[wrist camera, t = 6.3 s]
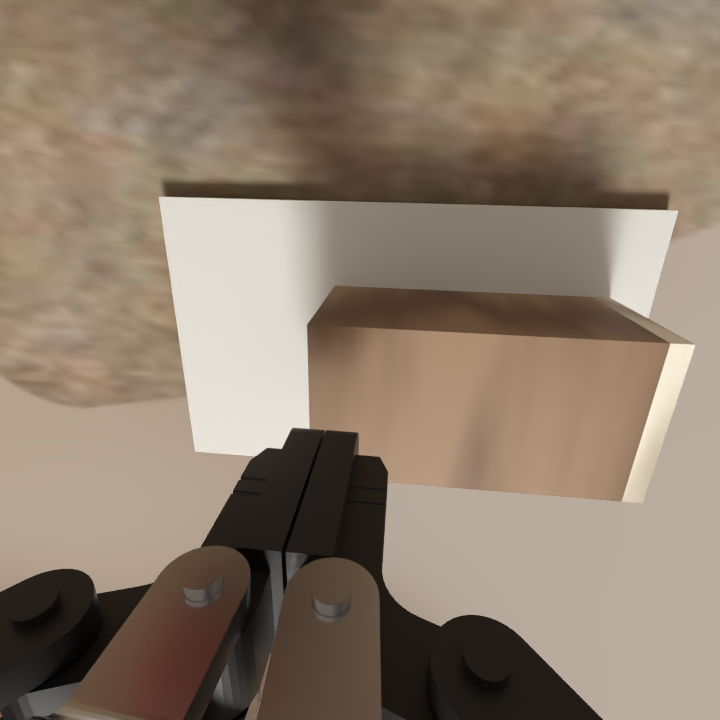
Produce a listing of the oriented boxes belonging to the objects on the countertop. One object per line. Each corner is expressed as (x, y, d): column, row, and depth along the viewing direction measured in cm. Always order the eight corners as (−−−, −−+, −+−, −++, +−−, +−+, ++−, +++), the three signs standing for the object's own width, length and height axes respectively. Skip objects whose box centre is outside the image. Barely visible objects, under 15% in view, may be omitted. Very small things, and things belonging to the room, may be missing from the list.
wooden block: (335, 285, 16) (609, 297, 16) (335, 402, 18) (580, 419, 17) (306, 324, 12) (695, 345, 11) (310, 476, 14) (642, 503, 13)
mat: (667, 209, 15) (678, 210, 14) (595, 474, 19) (601, 483, 18) (167, 196, 16) (158, 196, 16) (200, 444, 21) (195, 451, 20)
